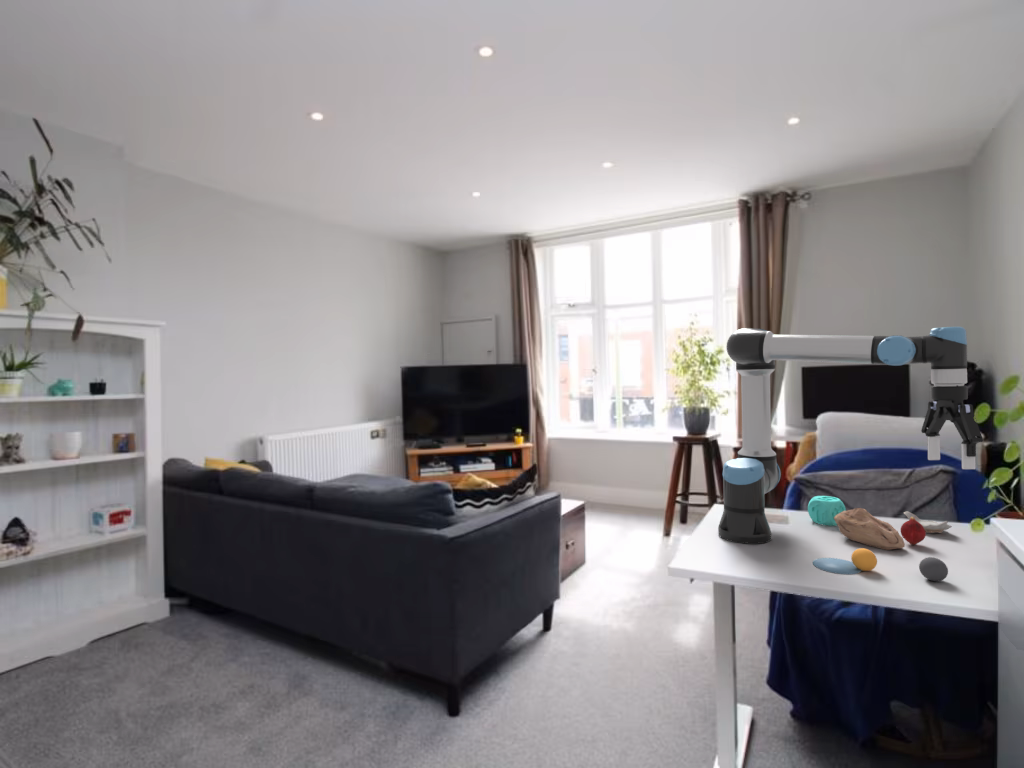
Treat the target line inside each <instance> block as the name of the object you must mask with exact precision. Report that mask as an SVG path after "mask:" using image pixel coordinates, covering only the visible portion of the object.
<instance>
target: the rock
mask: <svg viewBox="0 0 1024 768" xmlns="http://www.w3.org/2000/svg"><path fill="white" fill-rule="evenodd" d="M834 520H835V522H836V524H837V527H838V529H839V532H840V533H841V534H842V535H843V536H844V537H845V538H846V539H849V540H851V541H854V542H858V543H860V544H864V545H866V546H870V547H874V548H877V549H882V550H887V551H889V550H898V549H903V548H905V547H906V545H905V544H906V543H905V542H904V538H903V537H902V535H900V533H899V531H898V530H897V529H896V528H894V526H893V525H891V524H890V523H889V522H887V521H884V520H881V519H878V518H877V517H875V516H873V515H872V514H871V513H870V512H869V511H867V509H865V508H862V507H854V508H853V509H848V510H847V509H846V511H843V512H841V513H839V514H837V515H836V516H835V517H834Z"/></svg>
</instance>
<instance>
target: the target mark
mask: <svg viewBox="0 0 1024 768" xmlns="http://www.w3.org/2000/svg"><path fill="white" fill-rule="evenodd" d="M812 565H813V566H814V567H816V568H817V569H818V570H819V569H820V570H823V571H826V572H827V573H828V572H829V573H832V574H837V575H838V574H839V575H855V574H859V573H861V572H862V571H863V570H860V569H858V568H857V567H856V566H855V565H854V564H853V562H852V561H850V560H846V559H842V558H835V557H821V558H820V557H819V558H816V559H814V560H813V561H812Z"/></svg>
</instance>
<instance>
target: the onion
mask: <svg viewBox="0 0 1024 768" xmlns="http://www.w3.org/2000/svg"><path fill="white" fill-rule="evenodd" d="M900 534H901V535H900V536H901V537H902V538H903V540H905V541H906V542H907V543H909V544H910V545H913V546H914V545H917V544H919V543H921V542H922V541H924V539H926V535H927V532H925V529H924V527H923V526H922V525H921V524H920V523H919V522H917V521H916V520H915V518H914V517H911V519H910V520H909V519H908V520H906V521H905V522H904V523H902V525H901V527H900Z"/></svg>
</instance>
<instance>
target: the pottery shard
mask: <svg viewBox="0 0 1024 768" xmlns="http://www.w3.org/2000/svg"><path fill="white" fill-rule="evenodd" d="M903 514H904V515H905V516H906V517H907V519H908V521H909V520H910V519H911V517H914V518H915V520H916V521H917V522H919V523H920V524H921V525H922V526H923V527H924V529H925V532H926V534H927V533H928V534H931V533H932V534H936V533H939V534H942V533H943V531H947V530H949V529H951V528H952V527H953V526H952V525H950V524H948V520H944V521H942V522H941V523H938V522H937V521H935V520H923V519H920V518H919V517H918V516H917V515H916V514H914V513H912V512H910V511H904V512H903Z"/></svg>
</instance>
